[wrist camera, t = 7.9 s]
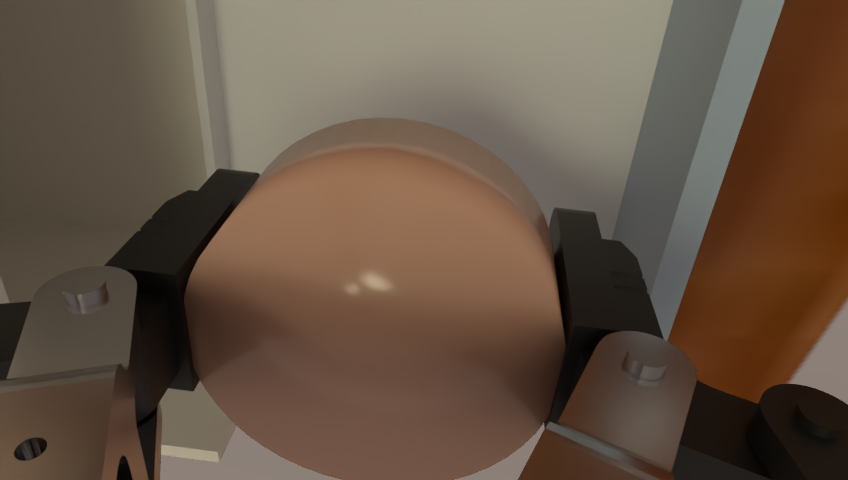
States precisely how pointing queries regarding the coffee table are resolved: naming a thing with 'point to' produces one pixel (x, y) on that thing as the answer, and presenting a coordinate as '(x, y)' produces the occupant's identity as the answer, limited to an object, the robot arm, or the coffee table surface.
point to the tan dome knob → (381, 305)
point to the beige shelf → (98, 154)
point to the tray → (507, 97)
